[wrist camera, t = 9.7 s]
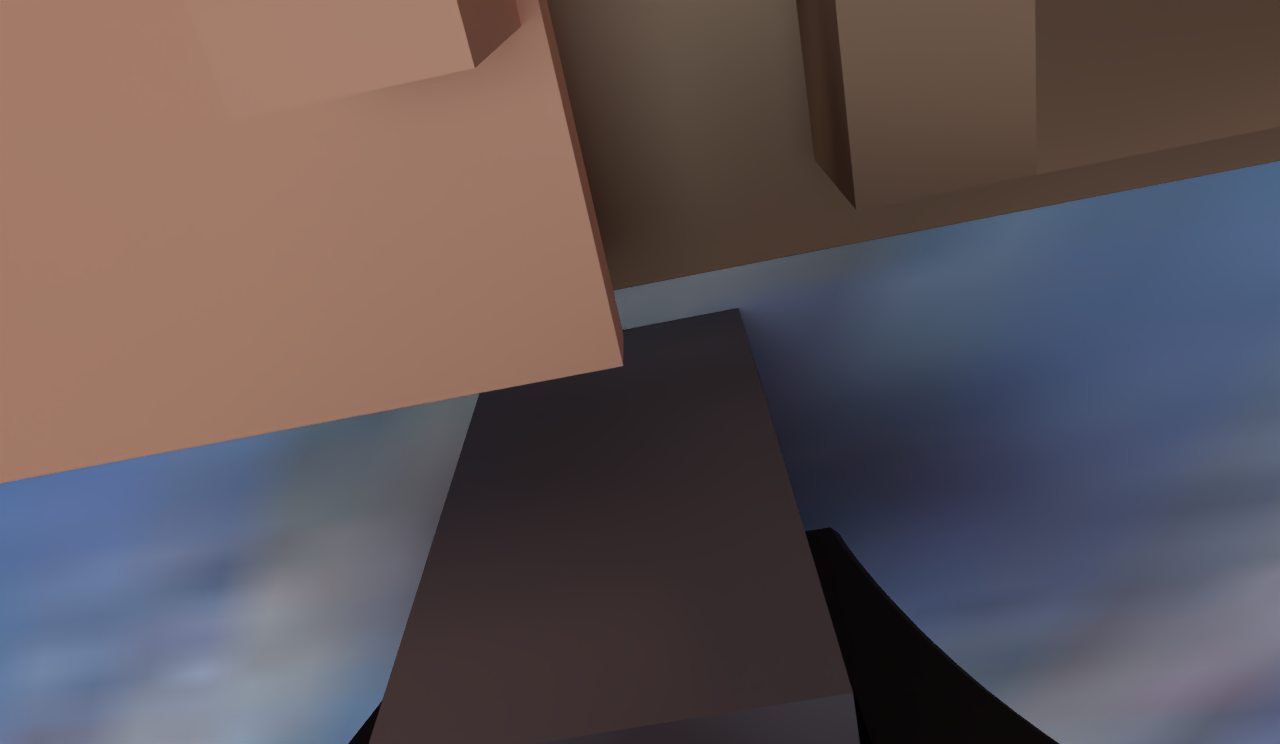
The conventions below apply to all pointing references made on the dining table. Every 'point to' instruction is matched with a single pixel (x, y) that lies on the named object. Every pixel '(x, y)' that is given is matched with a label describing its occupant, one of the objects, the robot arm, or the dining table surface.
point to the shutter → (281, 218)
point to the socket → (895, 114)
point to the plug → (623, 567)
